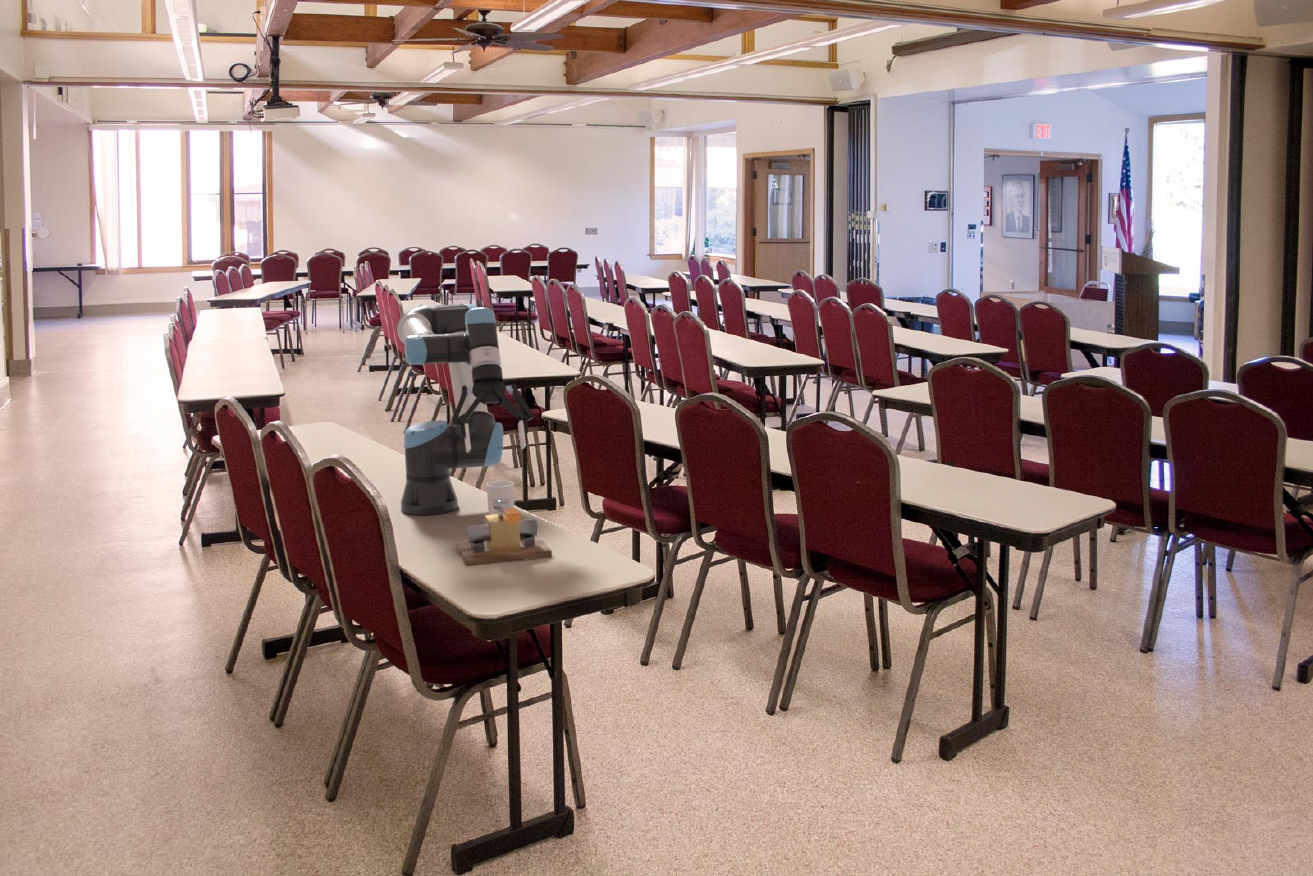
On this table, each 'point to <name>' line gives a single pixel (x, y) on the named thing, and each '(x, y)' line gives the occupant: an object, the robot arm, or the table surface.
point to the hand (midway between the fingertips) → (496, 449)
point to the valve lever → (507, 510)
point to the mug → (499, 494)
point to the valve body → (501, 534)
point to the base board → (502, 553)
